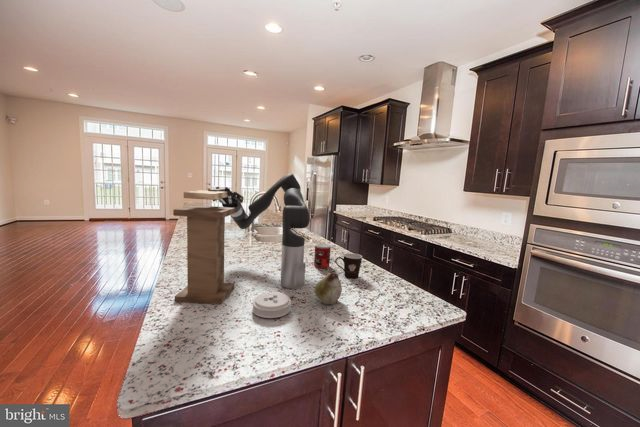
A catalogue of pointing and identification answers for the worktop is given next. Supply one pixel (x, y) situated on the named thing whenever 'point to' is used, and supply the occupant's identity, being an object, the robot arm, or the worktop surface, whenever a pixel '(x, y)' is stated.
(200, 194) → the wooden board
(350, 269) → the coffee mug
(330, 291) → the fruit
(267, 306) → the lid
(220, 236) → the tall stand
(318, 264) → the canned food
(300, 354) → the worktop surface
